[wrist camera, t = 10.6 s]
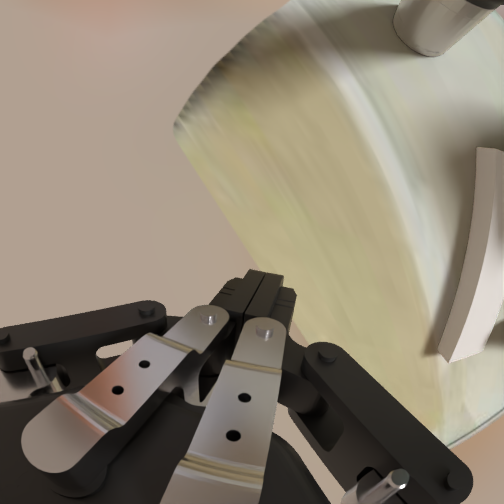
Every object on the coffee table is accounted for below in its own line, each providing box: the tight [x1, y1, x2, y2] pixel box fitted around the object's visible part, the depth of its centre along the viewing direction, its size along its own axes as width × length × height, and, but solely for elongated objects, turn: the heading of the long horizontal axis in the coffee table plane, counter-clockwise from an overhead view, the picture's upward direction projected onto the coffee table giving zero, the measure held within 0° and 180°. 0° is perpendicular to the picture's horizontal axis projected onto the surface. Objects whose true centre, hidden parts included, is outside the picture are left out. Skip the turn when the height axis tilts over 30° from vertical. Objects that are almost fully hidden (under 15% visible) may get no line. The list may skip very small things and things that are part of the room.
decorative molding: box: [437, 147, 504, 363], centre depth 31 cm, size 34×5×10 cm
